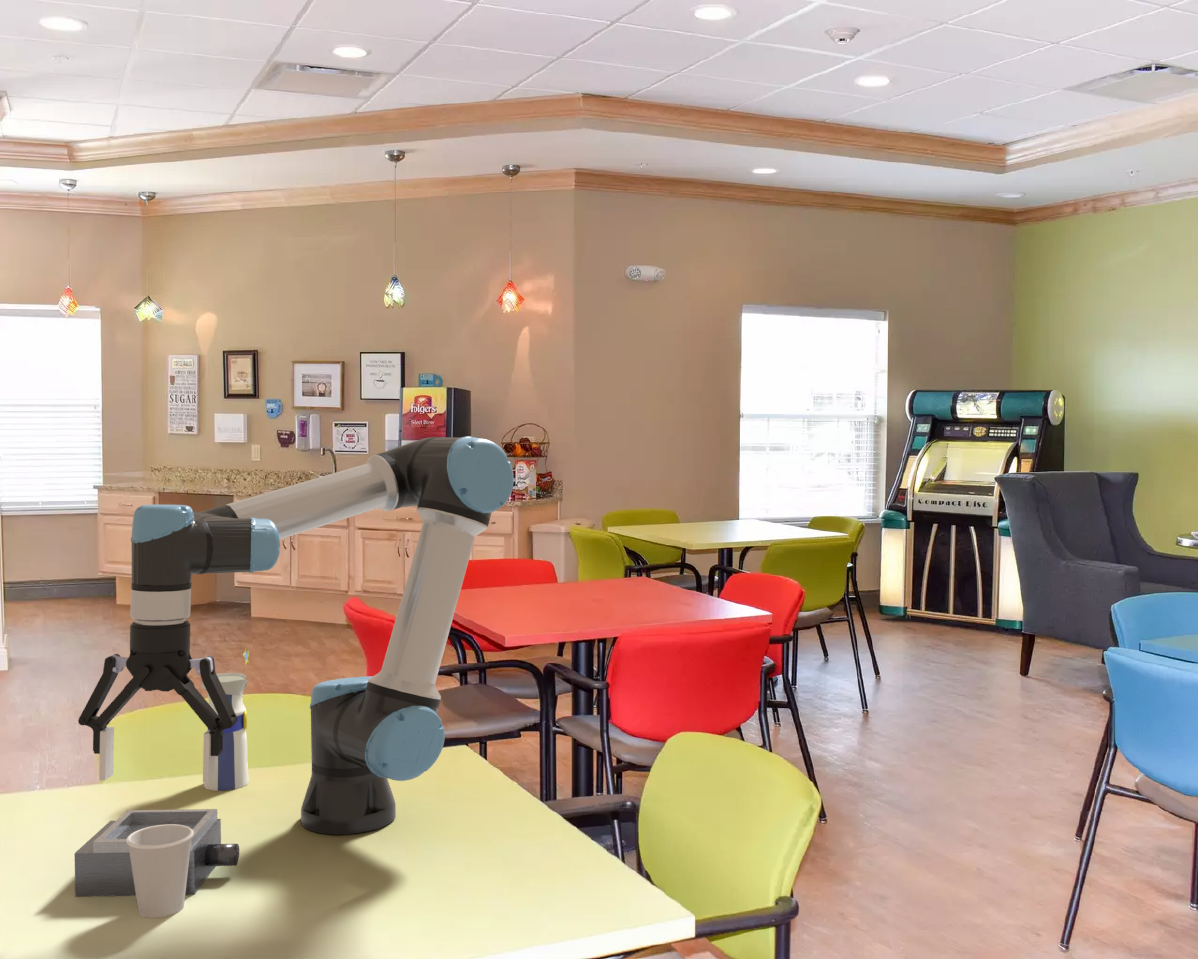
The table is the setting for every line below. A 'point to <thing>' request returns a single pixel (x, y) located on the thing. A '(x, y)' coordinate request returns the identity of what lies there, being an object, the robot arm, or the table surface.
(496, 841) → the table surface
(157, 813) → the block
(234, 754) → the white blue vase
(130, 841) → the dixie cup
